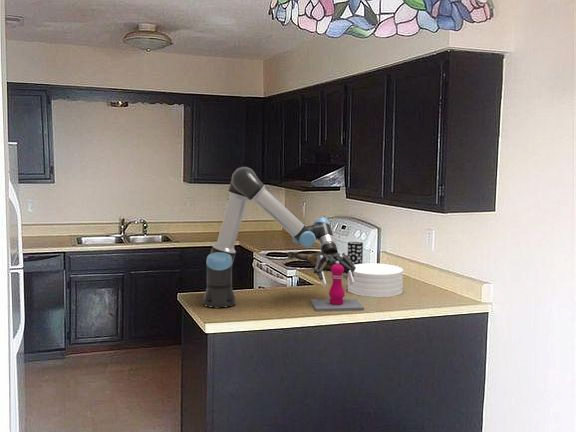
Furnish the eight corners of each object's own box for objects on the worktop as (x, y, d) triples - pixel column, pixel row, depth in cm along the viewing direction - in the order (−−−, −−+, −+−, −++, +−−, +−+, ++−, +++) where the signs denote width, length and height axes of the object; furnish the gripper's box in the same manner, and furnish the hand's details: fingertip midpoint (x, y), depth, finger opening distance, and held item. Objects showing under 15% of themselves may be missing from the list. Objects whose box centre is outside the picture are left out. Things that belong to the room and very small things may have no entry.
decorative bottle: (358, 265, 361) (293, 256, 384) (355, 251, 356) (289, 243, 378) (352, 277, 354) (285, 267, 377) (348, 263, 348) (281, 254, 371)
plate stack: (346, 296, 302) (346, 273, 300) (348, 283, 329) (349, 262, 328) (403, 298, 298) (404, 275, 296) (401, 285, 325) (401, 264, 324)
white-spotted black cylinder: (360, 280, 335) (361, 244, 333) (345, 279, 338) (346, 243, 336) (363, 277, 343) (364, 242, 341) (349, 276, 346) (349, 241, 343)
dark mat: (315, 311, 273) (315, 308, 273) (310, 301, 289) (310, 299, 289) (363, 310, 275) (363, 307, 275) (356, 301, 291) (356, 298, 291)
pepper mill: (331, 305, 277) (332, 262, 275) (326, 301, 284) (327, 259, 282) (346, 304, 280) (347, 262, 277) (341, 300, 286) (342, 259, 284)
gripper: (350, 250, 297) (361, 287, 285) (301, 252, 291) (311, 290, 278) (354, 241, 292) (366, 278, 279) (305, 242, 285) (314, 281, 272)
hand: (338, 284), depth 279 cm, fingers open, 13 cm apart
